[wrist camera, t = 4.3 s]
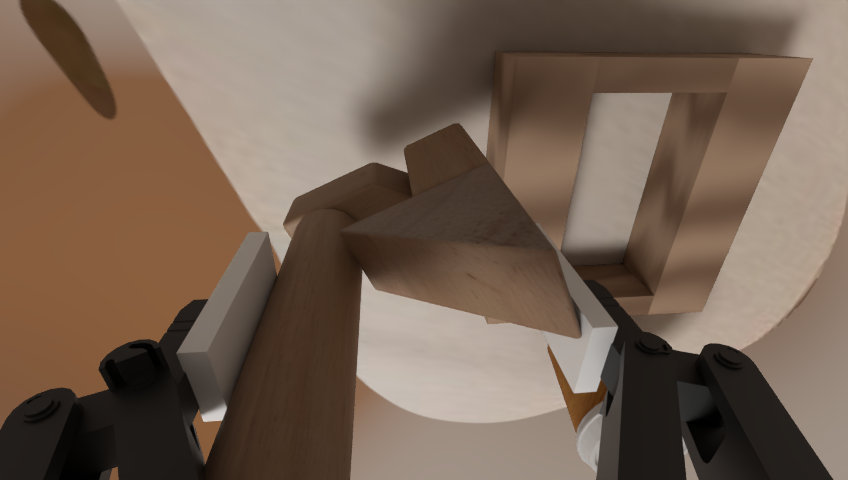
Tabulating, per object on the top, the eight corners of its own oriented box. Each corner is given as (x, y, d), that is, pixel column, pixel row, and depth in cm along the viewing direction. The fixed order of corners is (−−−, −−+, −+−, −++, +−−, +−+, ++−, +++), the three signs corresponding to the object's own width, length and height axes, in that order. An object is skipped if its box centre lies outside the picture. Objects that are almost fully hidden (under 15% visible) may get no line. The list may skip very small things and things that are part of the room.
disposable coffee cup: (535, 382, 44) (584, 494, 33) (528, 317, 39) (583, 424, 29) (619, 362, 44) (695, 469, 33) (622, 295, 39) (711, 394, 29)
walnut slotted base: (495, 51, 27) (517, 56, 23) (748, 53, 29) (813, 58, 25) (474, 288, 37) (487, 324, 33) (665, 279, 39) (702, 311, 34)
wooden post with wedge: (480, 174, 24) (668, 466, 8) (324, 244, 25) (239, 609, 10) (458, 118, 22) (645, 358, 7) (291, 196, 24) (124, 551, 8)
